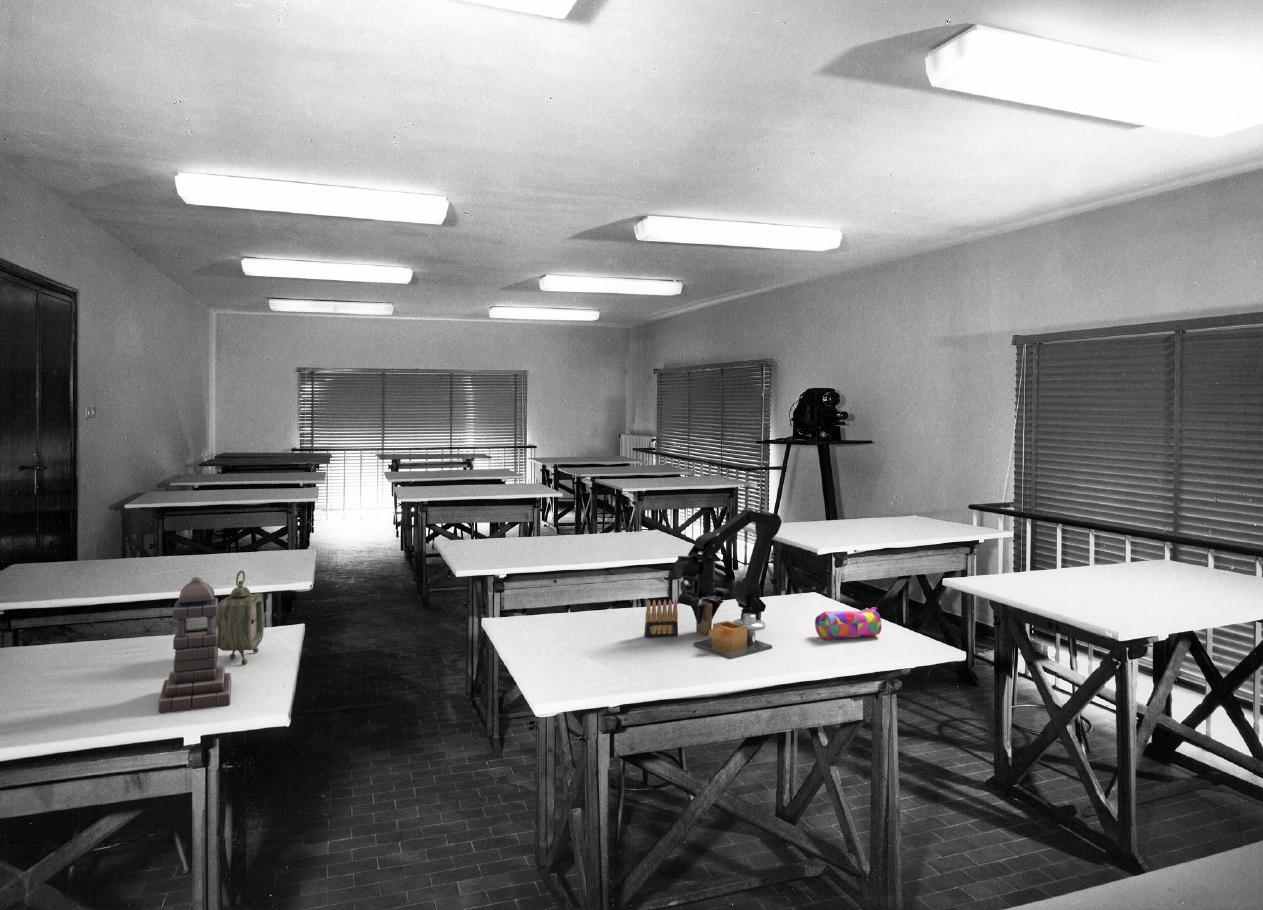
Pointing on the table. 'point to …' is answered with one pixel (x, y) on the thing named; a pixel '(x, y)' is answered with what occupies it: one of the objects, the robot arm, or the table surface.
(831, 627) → the pencil case
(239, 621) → the tabletop clock
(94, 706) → the table surface
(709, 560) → the robot arm
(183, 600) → the miniature tower
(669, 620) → the ammunition clip
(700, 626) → the wedge
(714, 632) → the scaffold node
